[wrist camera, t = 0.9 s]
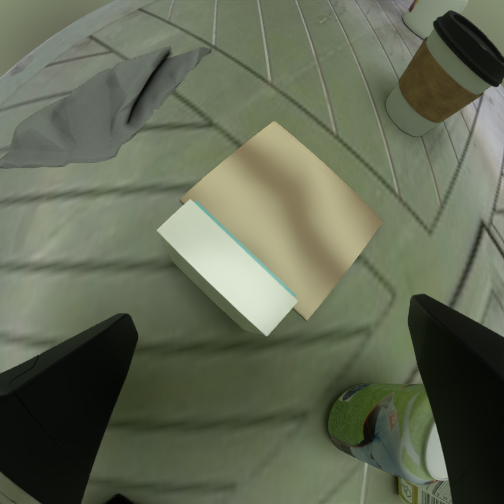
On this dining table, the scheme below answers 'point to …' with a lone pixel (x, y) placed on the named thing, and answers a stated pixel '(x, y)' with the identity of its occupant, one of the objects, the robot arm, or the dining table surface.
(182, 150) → the dining table surface
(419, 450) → the beverage can
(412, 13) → the milk bottle
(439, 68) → the coffee cup
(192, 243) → the tile
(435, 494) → the juice carton
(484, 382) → the robot arm
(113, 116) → the cloth
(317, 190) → the mat
